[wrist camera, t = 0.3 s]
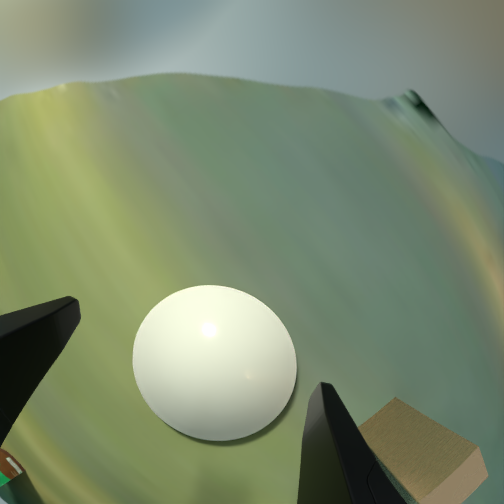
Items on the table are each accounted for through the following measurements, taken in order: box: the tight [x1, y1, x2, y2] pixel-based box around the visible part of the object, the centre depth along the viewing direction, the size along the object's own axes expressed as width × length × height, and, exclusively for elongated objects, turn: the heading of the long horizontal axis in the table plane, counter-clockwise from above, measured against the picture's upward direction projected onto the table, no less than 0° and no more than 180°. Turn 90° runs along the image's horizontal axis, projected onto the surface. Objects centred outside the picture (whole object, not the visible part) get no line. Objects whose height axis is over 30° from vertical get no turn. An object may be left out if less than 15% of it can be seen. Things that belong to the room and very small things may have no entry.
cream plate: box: [133, 285, 297, 441], centre depth 22 cm, size 14×14×1 cm
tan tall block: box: [358, 397, 488, 504], centre depth 15 cm, size 5×5×13 cm
